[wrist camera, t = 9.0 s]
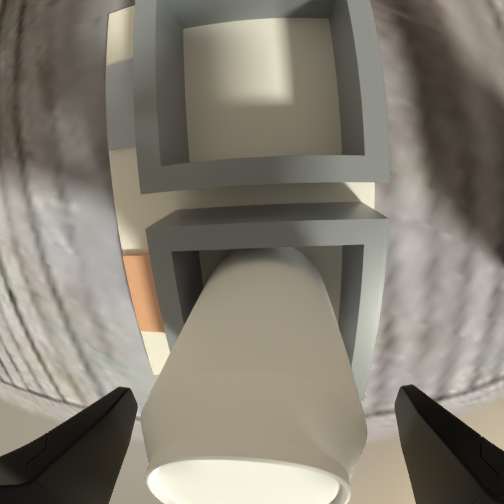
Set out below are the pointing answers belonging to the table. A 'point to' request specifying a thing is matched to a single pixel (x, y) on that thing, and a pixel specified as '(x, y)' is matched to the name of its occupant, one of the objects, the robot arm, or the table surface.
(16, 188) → the table surface
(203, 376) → the beverage can
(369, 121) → the socket board
